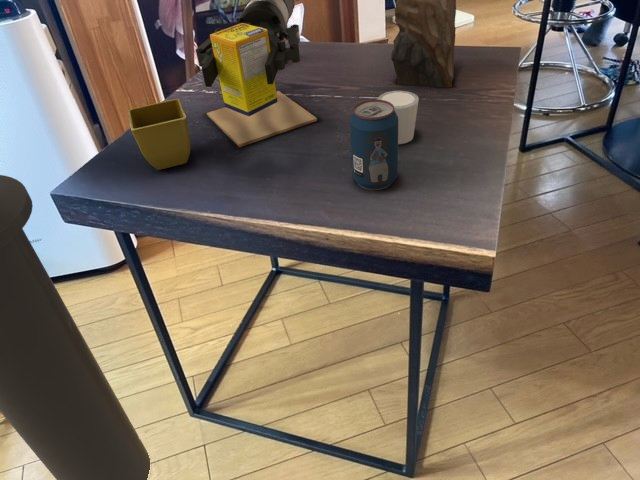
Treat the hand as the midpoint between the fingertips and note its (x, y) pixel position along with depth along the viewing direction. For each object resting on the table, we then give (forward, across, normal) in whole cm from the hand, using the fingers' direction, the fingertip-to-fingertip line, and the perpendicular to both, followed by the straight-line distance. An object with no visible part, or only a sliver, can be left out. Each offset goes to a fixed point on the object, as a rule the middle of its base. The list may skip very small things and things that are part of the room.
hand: (237, 76), depth 71 cm
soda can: (-1, -18, -18) cm, 26 cm away
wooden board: (-23, +3, -18) cm, 29 cm away
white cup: (-14, -22, -18) cm, 32 cm away
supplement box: (-5, 0, -7) cm, 8 cm away
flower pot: (-8, +17, -18) cm, 26 cm away
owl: (-39, -30, -18) cm, 52 cm away
